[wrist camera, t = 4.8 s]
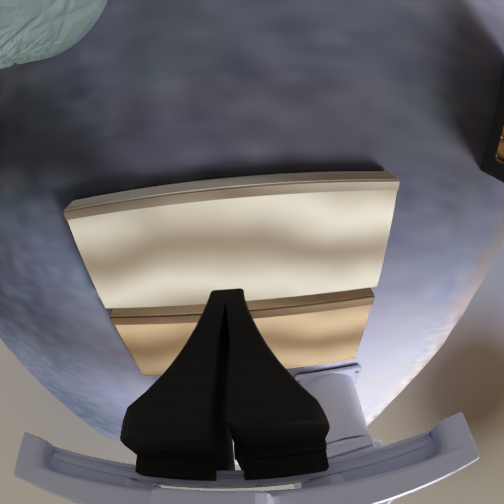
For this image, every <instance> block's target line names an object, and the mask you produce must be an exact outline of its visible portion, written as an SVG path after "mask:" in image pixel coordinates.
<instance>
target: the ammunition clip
mask: <svg viewBox="0 0 504 504" xmlns="http://www.w3.org/2000/svg"><path fill="white" fill-rule="evenodd" d="M481 171H483V172H485V173H487V174H489V175H491V176H493V177H495V178H496V179H498V180H500V181H502V182H503V183H504V69H503V76H502V83H501V89H500V94H499V100H498V105H497V110H496V114H495V118H494V123H493V127H492V131H491V135H490V138H489V142H488V145H487V149H486V152H485V156H484V159H483V162H482V165H481Z"/></svg>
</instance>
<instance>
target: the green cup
mask: <svg viewBox="0 0 504 504" xmlns="http://www.w3.org/2000/svg"><path fill="white" fill-rule="evenodd" d="M107 1H108V0H0V69H1V68H7V67H10V66H11V65H13V64H14V63H17V64H23V63H28V62H32V61H38V60H43V59H47V58H51V57H53V56H56V55H58V54H60V53H62V52H64V51H66V50H67V49H69V48H71V47H72V46H73V45H74V44H76V43H77V42H78V41H80V40H81V39H82V38H83V37H84V36H85V35H86V34H87V33H88V31H89V30H90V29H91V28H92V27H93V25H94V24H95V23H96V21H97V20H98V19H99V17H100V15H101V14H102V12H103V10H104V8H105V6H106V4H107Z"/></svg>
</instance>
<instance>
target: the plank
mask: <svg viewBox="0 0 504 504" xmlns="http://www.w3.org/2000/svg"><path fill="white" fill-rule="evenodd" d="M398 180H399V179H398V178H396V177H395V176H394V175H392V174H391V173H390V172H389V171H338V172H306V173H285V174H269V175H255V176H242V177H231V178H220V179H210V180H201V181H192V182H184V183H176V184H168V185H161V186H154V187H147V188H141V189H134V190H128V191H122V192H116V193H110V194H105V195H99V196H94V197H89V198H83V199H78V200H73V201H72V202H71V203H70V204H69V205H68V206H67V207H66V208H65V209H64V212H63V213H64V216H65V219H66V220H67V221H68V223H69V226H70V229H71V231H72V234H73V237H74V239H75V242H76V244H77V247H78V249H79V252H80V254H81V257H82V259H83V261H84V264H85V266H86V268H87V270H88V273H89V275H90V277H91V279H92V282H93V284H94V286H95V288H96V290H97V292H98V294H99V296H100V298H101V300H102V302H103V304H104V306H105V308H136V307H161V306H180V305H197V304H207V301H208V298H209V296H210V293H211V292H212V291H213V290H225V289H237V288H241V289H243V290H244V296H245V300H246V301H252V300H263V299H274V298H284V297H294V296H303V295H313V294H321V293H330V292H338V291H346V290H354V289H362V288H369V287H376V286H377V284H378V281H379V277H380V273H381V269H382V265H383V260H384V256H385V252H386V247H387V242H388V238H389V233H390V228H391V223H392V217H393V212H394V206H395V200H396V194H397V190H398V189H399V181H398Z"/></svg>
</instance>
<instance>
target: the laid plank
mask: <svg viewBox="0 0 504 504" xmlns="http://www.w3.org/2000/svg"><path fill="white" fill-rule="evenodd" d="M374 298H375V297H374V293H373V292H372V290H371V288H370V287H369V288H362V289H354V290H346V291H338V292H330V293H321V294H313V295H303V296H294V297H284V298H274V299H263V300H252V301H246V303H247V306H248V309H249V311H250V314H251V316H252V318H253V320H254V322H255V324H256V326H257V328H258V330H259V332H260V333H261V335H262V337H263V339H264V340H265V342H266V343H267V345H268V346H269V348H270V349H271V351H272V352H273V354H274V355H275V356H276V358H277V359H278V360H279V361H280V363H281V364H282V365H283V366H284V367H285V368H286V369H290V368H298V367H305V366H313V365H320V364H326V363H332V362H338V361H344V360H350V359H355V357H356V354H357V351H358V348H359V345H360V341H361V338H362V335H363V332H364V329H365V325H366V322H367V319H368V315H369V312H370V308H371V305H372V304H373V302H374ZM205 306H206V304H197V305H180V306H161V307H136V308H113V310H112V312H111V315H110V320H111V322H112V324H113V325H115V326H116V328H117V330H118V332H119V334H120V336H121V338H122V339H123V341H124V343H125V345H126V346H127V348H128V350H129V352H130V353H131V355H132V357H133V359H134V360H135V362H136V364H137V365H138V367H139V369H140V370H141V372H142V373H143V375H162V374H163V373H164V372H165V371H166V370H167V369H168V367H169V366H170V365H171V364H172V362H173V361H174V360H175V358H176V357H177V356H178V354H179V353H180V351H181V350H182V349H183V347H184V345H185V344H186V342H187V341H188V339H189V337H190V336H191V334H192V332H193V330H194V329H195V327H196V325H197V323H198V321H199V319H200V317H201V315H202V313H203V311H204V308H205Z"/></svg>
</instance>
